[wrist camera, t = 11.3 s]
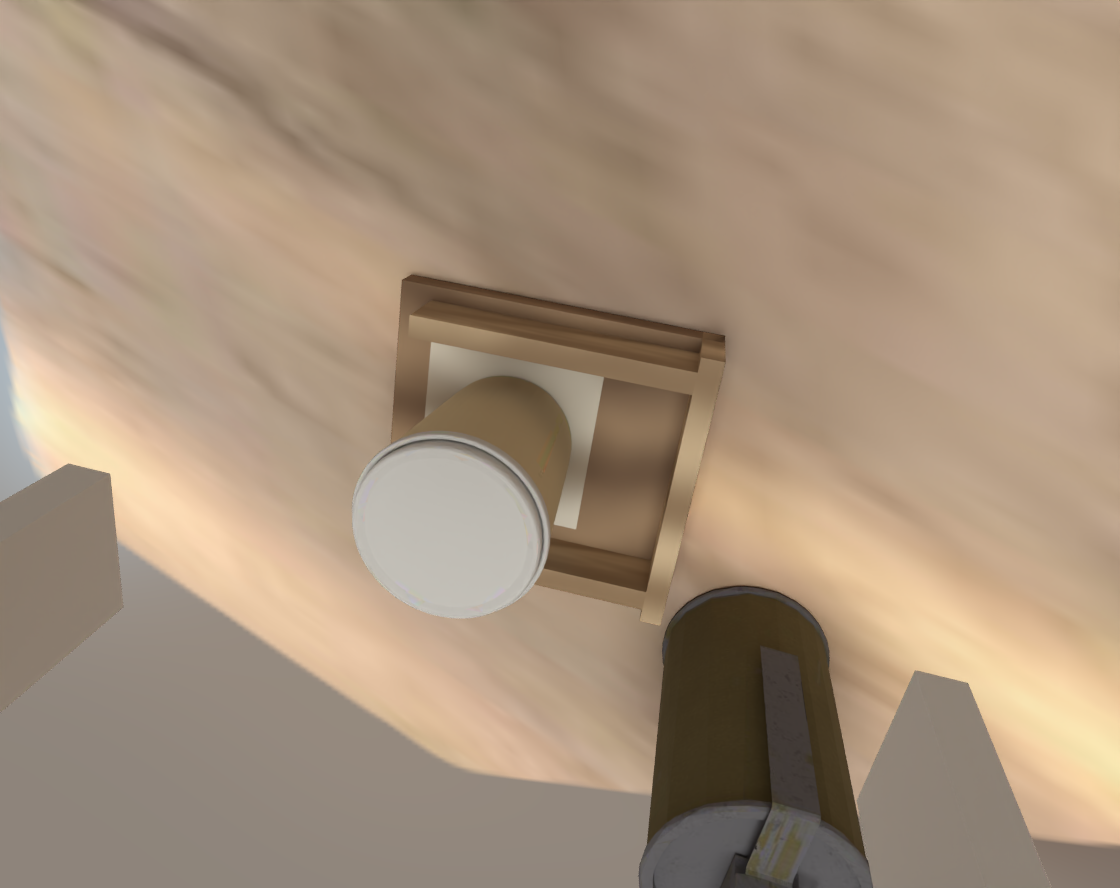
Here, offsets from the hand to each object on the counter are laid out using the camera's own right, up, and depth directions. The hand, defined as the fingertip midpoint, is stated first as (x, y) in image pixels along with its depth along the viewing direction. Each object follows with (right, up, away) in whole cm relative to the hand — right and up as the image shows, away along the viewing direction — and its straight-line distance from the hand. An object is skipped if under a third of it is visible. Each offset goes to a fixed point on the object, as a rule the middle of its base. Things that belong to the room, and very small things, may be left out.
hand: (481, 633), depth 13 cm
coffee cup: (-2, +4, +34) cm, 34 cm away
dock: (0, +4, +35) cm, 35 cm away
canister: (+13, -10, +38) cm, 42 cm away
